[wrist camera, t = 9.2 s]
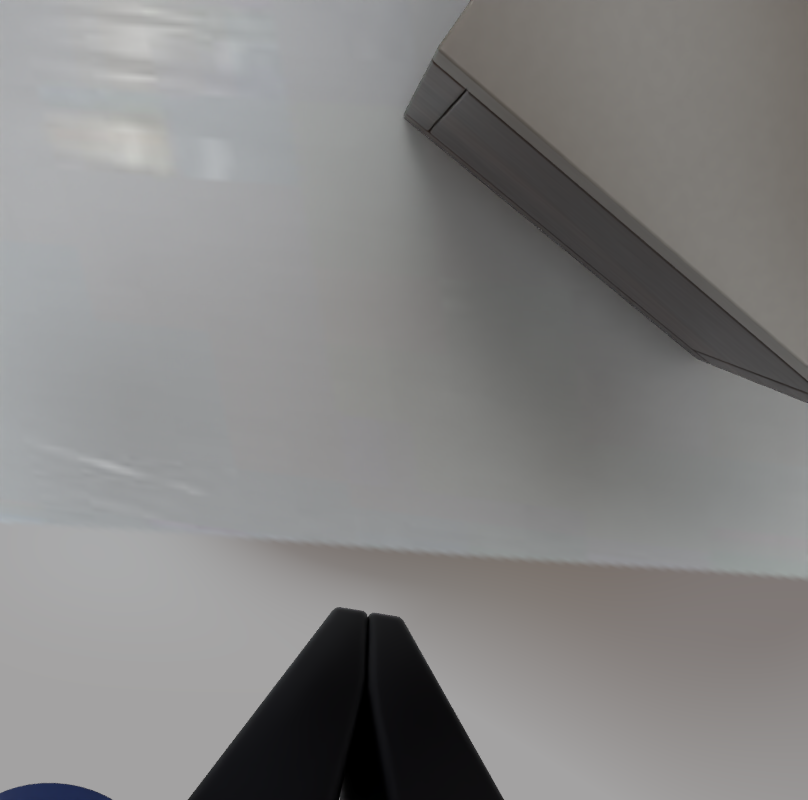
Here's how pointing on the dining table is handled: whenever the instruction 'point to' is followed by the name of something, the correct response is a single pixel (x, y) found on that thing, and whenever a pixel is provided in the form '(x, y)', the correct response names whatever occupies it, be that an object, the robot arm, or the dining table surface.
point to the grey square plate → (668, 131)
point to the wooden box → (591, 232)
